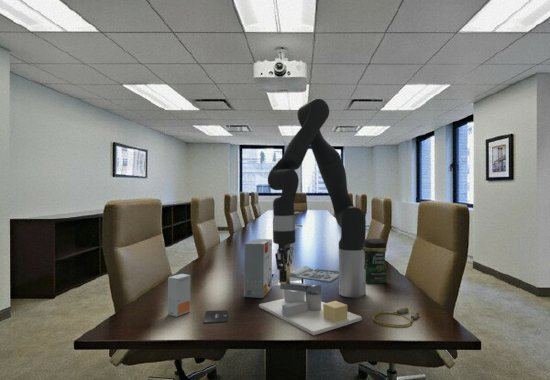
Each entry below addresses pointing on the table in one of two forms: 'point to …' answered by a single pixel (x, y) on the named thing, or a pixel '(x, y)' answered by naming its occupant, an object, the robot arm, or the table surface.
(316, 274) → the grey patterned tray
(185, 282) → the skincare box
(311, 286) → the bar
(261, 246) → the hard drive box
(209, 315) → the solid state drive
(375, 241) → the coffee jar
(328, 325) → the base
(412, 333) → the table surface
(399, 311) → the extension cord
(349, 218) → the robot arm
